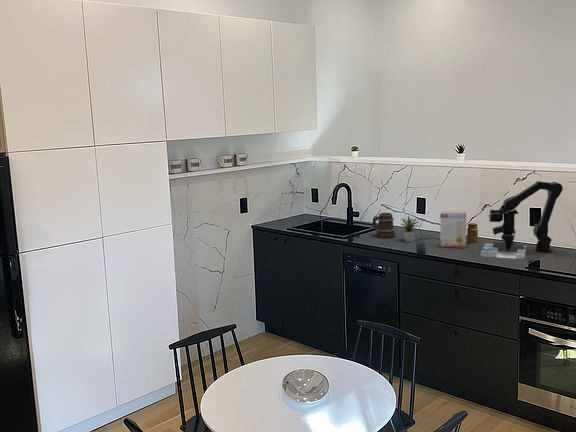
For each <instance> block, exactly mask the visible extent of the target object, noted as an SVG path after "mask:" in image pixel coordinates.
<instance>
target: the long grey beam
mask: <svg viewBox="0 0 576 432" xmlns="http://www.w3.org/2000/svg"><path fill="white" fill-rule="evenodd" d="M492 244H493V247H498V251H514V252H517V250H518V249H524V246H525V243H521V242H513V243H512V245H511V247H510V249H509V250H507V248H506V243H505V241H504V242H503V241H493V243H492Z"/></svg>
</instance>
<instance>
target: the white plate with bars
mask: <svg viewBox="0 0 576 432" xmlns="http://www.w3.org/2000/svg"><path fill="white" fill-rule="evenodd" d="M526 252H527V245H524V249H518V250H517V252H514V251H498V247H493V243H484V246H483V247H482V250H481V251H480V257H483V258H500V259H517V260H525V257H526Z"/></svg>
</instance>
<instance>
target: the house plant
mask: <svg viewBox="0 0 576 432" xmlns="http://www.w3.org/2000/svg"><path fill="white" fill-rule="evenodd" d="M414 217H415V215H413V216H412V217H410V215H409V214H408V215H407V218H406V217H405V218H401V221H402V223H400V226H401V225H402V227H401V228H404V230H403V237H404V241H405V242H408V243H409V242H414V239H415V232H416V230H414V229H415V228H416V227H420V224H419V223H420V221H419V220H420V219H419V217H415V218H414Z"/></svg>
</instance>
